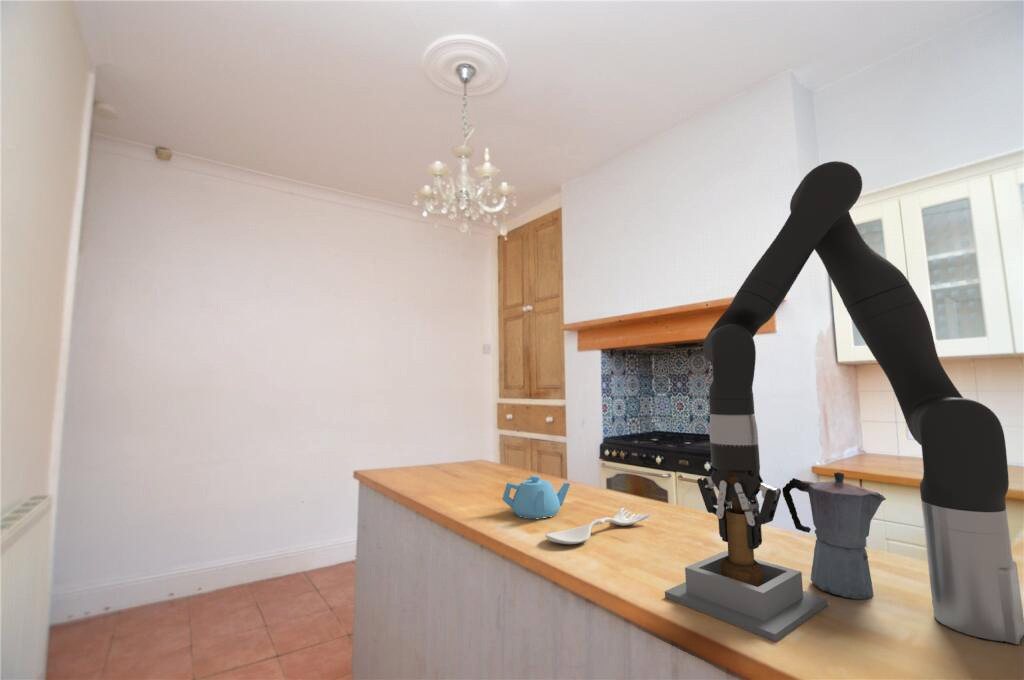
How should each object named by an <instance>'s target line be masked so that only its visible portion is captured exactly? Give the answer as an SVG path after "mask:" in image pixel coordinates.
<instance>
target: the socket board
mask: <svg viewBox="0 0 1024 680" xmlns="http://www.w3.org/2000/svg"><path fill="white" fill-rule="evenodd" d="M726 557H728V550H724V551H721V552H719V553H717V554H714V555H711V556H709V557H707V558H705V559H703V560H700V561H698V562H695V563H693V564H689V565H687V566H686V567H684V573H685V574H684V575H685V582H682V583H681V584H677V585H675V586H674V587H670V588H669V589H667V590H666V589H665V591H664V598H665V599H668V600H671V601H673V602H675V603H678V604H680V605H683V606H686V607H688V608H691V609H693V610H695V611H698V612H700V613H702V614H703V613H704V614H705V615H708V616H710V617H713V618H716V619H718V620H721V621H723V622H725V623H728V624H730V625H732V626H735V627H738V628H741V629H743V630H746V631H748V632H751V633H753V634H755V635H757V636H760V637H763V638H766V639H768V640H771V641H772V642H778V641H779V640H780V639H782V638H784V636H786V635H787V634H789V633H791V632H792V631H793V630H794V629H796V628H797V627H799V626H800V625H801V624H803V623H804V622H806V621H807V620H808V619H810V618H811V617H812V616H814V615H815V614H817V613H818V612H819V611H821V610H822V609H824V608H825V607H827V606H828V598H827V597H825V596H820V595H817V594H814V593H811V592H808V591H804V589H803V577H802V576H803V575H802V571H801V570H797V569H794V568H788V567H786V566H782V565H779V564H775V563H771V562H767V561H764V560H760V559H756V558H754V560H755V561H757V562H758V563H759V565H761V566H762V567H763V570H764V584H763V585H761V586H759V587H756V586H753V585H750V584H747V583H744V582H740V581H737V580H734V579H731V578H728V577H725V576H722V575H721V561H722V560H724V559H725V558H726Z"/></svg>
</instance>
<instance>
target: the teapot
mask: <svg viewBox="0 0 1024 680" xmlns="http://www.w3.org/2000/svg"><path fill="white" fill-rule="evenodd" d="M540 478H541V476H540V475H535V474H534V475H531V476H530V477H526V479H525V480H523V481H521V482H520V484H518V483H512V482H511V483H510V482H506V485H505V489H504V491H503V495H502V501H503V502H504V503H506V504H507V505H508V506H509V507H510V508H511V509H512V511H513V513H514V514H515V515H516V516H517V515H518V516H521V517H526V518H543V517H550V516H553V515H555V514H556V515H558V513H559V511H560V509H561V507H562V506H563V504H564V501H565V499H566V496H567V493H568V491H569V488H570V485H571V483H570V482H563V484H562V485H561V487H560V488H559V490H558V492H556V490H555V488H554V487H553V485H552V483H551V482H550V481H548V480H546V479H545V480H544V479H540ZM511 489H512V490H513V489H514V490H515V493H514V494H513V498H512V497H510V495H511V491H512V490H511ZM556 515H555V516H556ZM518 516H517V517H518ZM521 517H520V518H521Z"/></svg>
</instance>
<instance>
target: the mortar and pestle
mask: <svg viewBox="0 0 1024 680" xmlns="http://www.w3.org/2000/svg"><path fill="white" fill-rule="evenodd" d="M727 480H728V482H729V483H730V484H731V485H732V486H734V485H735V483H737V482H738V481H739V479H738V476H737V475H736V474H735V473H733V472H730V473H728V474H727ZM731 502H732V507H731V508H728V509H726V521H727V538H728V542H727V551H728V557H726V558H725V559H724V560H722V561H721V575H722V576H725V577H728V578H731V579H734V580H737V581H740V582H744V583H747V584H750V585H753V586H756V587H759V586H761V585H763V584H764V570H763V567H762V566H761V565H759V563H758V562H757V561H755V560H754V559H755V551H754V550H755V549H751V548H749V546H748V531H747V525H749V524H748V521H747V518H746V515H745V512H744V511H743V510H742V507H741V504H740V503H738V502H737V500H736V498H735V497H732V501H731Z"/></svg>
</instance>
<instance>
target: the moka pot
mask: <svg viewBox="0 0 1024 680" xmlns="http://www.w3.org/2000/svg"><path fill="white" fill-rule="evenodd" d="M833 476H834V480H833V481H832V480H831V481H818V482H812V481H806V480H800V479H799V478H798V479H797V478H795V477H794V478H792V479H789V482H788V483H786V484H785V486H783V487H782V488H781V489H782V491H781V492H782V495H783V499H784V500H785V503H786V506H787V508H788V511H789V513H790V515H791V519H792V521H793V524H794V527H795V529H796V530H799V531H801V532H803V533H804V532H805V533H810V532H811V530H812V529H811V528H810V527H809V526H804V525H803V524H802V523H801V520H800V519H799V517H798V512H797V509H796V506H795V503H794V500H793V497H792V494H791V490H793V489H797V490H798V491H800V492H804V493H808V496H809V497H808V498H809V504H810V510H811V515H812V517H811V518H812V523H813V526H814V527H815V530H814V534H815V537H816V540H815V545H814V550H813V552H814V553H813V559H812V565H811V566H812V567H811V571H810V572H811V573H810V581H811V582H812V584H813V585H815V586H816V587H817V588H819V589H820V590H822V591H825V592H827V593H829V594H832V595H835V596H840V597H844V598H849V599H853V600H855V599H856V600H867V599H870V598H871V597H872V596H873V595H874V588H873V583H872V577H871V571H870V566H869V555H868V553H867V552H868V551H867V549H866V546H867V538H868V537H869V536H870V530H871V522H872V519H873V518H874V516H875V514H876V513H877V511H878V509H879V508H880V506H881V504H882V502H884V501H886V500H887V498H886V497H885V496H884V495H882V494H881V493H879V492H876V491H873V490H869V489H866V488H865V487H861V486H859V485H854V484H852V483H851V484H850V483H847V482H845V481H844V479H845V474H844V473H842V472H839V471H838V472H837V471H836V472H833Z"/></svg>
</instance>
